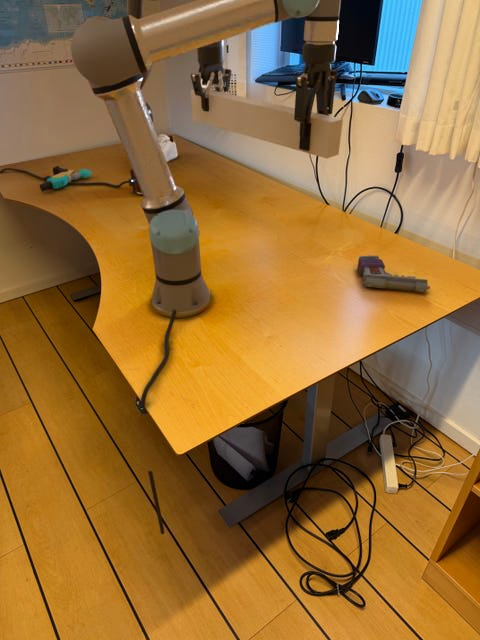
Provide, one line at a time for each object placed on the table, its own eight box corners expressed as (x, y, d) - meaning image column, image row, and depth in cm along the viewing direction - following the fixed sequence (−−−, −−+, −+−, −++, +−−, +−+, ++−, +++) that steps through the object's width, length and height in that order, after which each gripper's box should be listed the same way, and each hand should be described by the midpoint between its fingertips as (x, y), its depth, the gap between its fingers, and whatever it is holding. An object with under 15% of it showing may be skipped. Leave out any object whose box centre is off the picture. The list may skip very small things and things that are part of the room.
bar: (338, 154, 119) (343, 118, 114) (327, 158, 117) (331, 122, 112) (204, 117, 150) (202, 88, 144) (192, 120, 147) (190, 90, 142)
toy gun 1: (18, 179, 190) (45, 185, 184) (65, 161, 208) (91, 166, 203) (21, 190, 192) (48, 196, 187) (67, 171, 211) (93, 177, 205)
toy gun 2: (422, 269, 137) (428, 298, 126) (357, 263, 141) (356, 291, 129) (425, 258, 135) (432, 285, 123) (358, 252, 138) (358, 278, 126)
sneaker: (133, 173, 208) (129, 144, 201) (161, 153, 230) (158, 127, 223) (155, 175, 205) (151, 146, 198) (180, 155, 227) (178, 129, 220)
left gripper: (220, 40, 138) (222, 104, 148) (181, 45, 130) (186, 111, 140) (238, 43, 134) (238, 108, 144) (199, 47, 126) (202, 115, 136)
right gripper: (329, 38, 115) (320, 137, 129) (281, 44, 105) (276, 151, 119) (356, 40, 111) (343, 143, 124) (308, 47, 101) (300, 158, 114)
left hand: (212, 109), depth 142 cm, fingers closed on bar, 4 cm apart
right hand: (310, 147), depth 121 cm, fingers closed on bar, 5 cm apart
